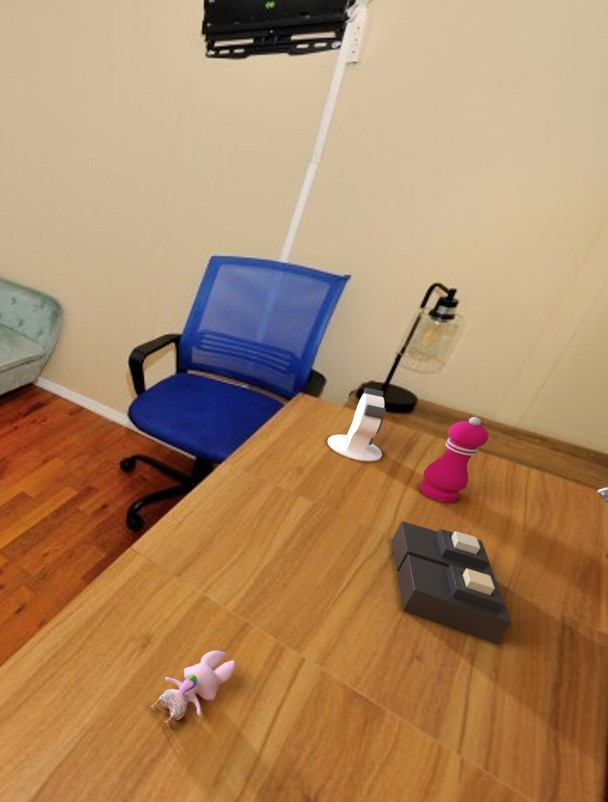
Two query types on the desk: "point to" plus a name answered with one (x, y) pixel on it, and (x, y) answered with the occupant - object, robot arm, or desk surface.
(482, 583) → the high key
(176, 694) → the rabbit figure
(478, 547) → the low key
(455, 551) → the low key box
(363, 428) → the white curved stand
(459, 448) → the pepper mill
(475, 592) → the high key box
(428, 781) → the desk surface
